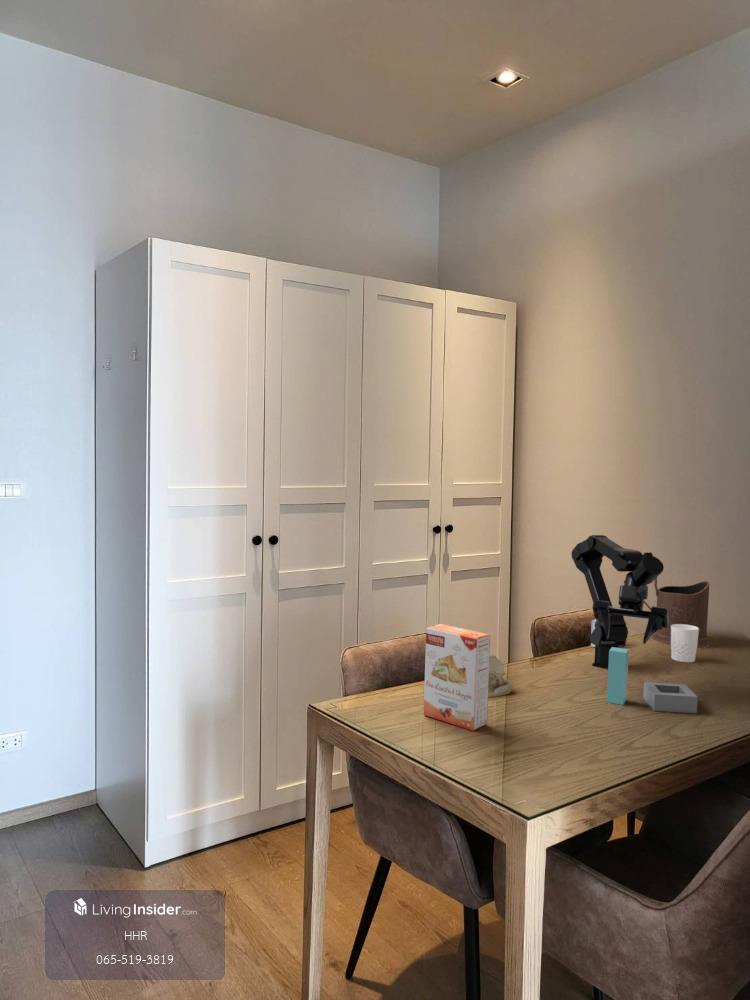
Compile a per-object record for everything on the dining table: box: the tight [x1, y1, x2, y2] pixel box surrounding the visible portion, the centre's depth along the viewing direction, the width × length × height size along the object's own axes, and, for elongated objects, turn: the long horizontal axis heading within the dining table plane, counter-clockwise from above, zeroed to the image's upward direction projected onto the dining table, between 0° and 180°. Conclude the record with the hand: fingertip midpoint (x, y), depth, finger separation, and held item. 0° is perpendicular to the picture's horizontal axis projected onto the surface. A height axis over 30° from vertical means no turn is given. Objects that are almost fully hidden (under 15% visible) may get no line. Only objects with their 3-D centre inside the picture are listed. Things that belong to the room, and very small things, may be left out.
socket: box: [642, 681, 698, 714], centre depth 189 cm, size 10×10×4 cm
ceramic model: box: [488, 654, 514, 698], centre depth 197 cm, size 14×11×10 cm
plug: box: [606, 647, 630, 706], centre depth 191 cm, size 4×4×13 cm
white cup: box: [670, 624, 699, 663], centre depth 232 cm, size 8×8×10 cm
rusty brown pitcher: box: [644, 577, 711, 649], centre depth 255 cm, size 18×24×25 cm
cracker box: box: [423, 623, 491, 732], centre depth 174 cm, size 14×6×21 cm, turn 49°
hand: (625, 640), depth 197 cm, fingers open, 9 cm apart
